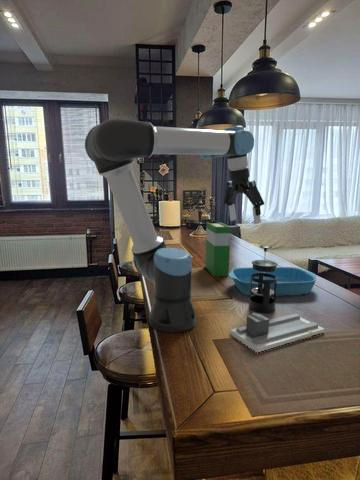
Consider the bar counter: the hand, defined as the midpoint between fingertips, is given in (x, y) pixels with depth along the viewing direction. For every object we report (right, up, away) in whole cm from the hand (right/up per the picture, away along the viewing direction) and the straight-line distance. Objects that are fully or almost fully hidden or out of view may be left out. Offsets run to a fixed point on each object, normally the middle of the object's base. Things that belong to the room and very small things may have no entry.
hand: (245, 221), depth 128 cm
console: (+3, -36, -32) cm, 48 cm away
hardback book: (-8, -23, +34) cm, 42 cm away
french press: (+3, -32, -13) cm, 35 cm away
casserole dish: (+13, -29, +8) cm, 32 cm away
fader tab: (-4, -34, -36) cm, 50 cm away
